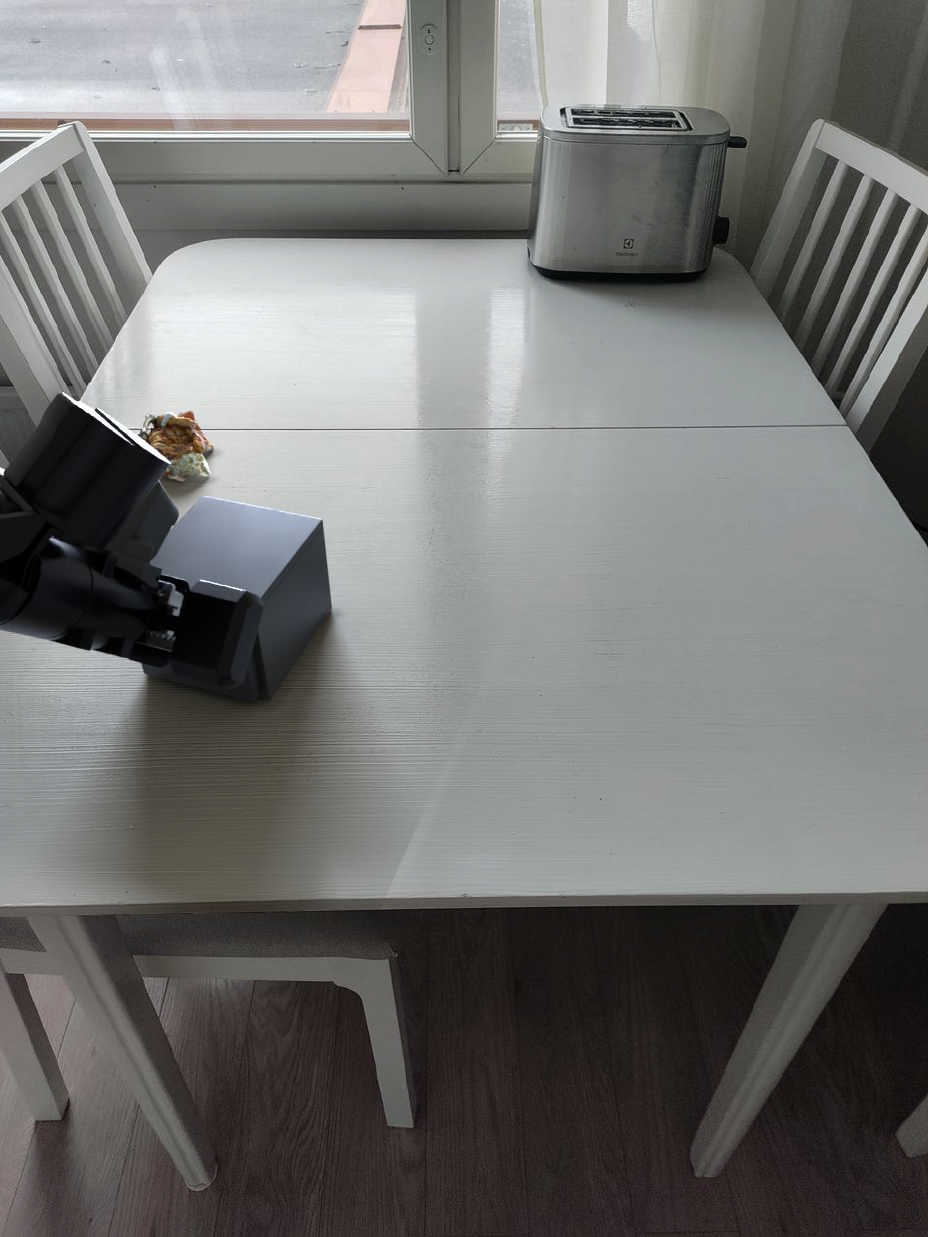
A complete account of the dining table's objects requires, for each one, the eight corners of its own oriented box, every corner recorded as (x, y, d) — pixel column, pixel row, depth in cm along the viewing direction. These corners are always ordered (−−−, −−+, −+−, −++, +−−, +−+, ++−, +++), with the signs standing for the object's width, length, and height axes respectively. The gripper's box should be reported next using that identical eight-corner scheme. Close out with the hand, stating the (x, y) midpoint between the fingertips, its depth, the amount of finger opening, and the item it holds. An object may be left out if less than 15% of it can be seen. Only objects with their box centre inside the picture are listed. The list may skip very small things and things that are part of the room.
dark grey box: (270, 700, 75) (253, 608, 69) (147, 670, 77) (121, 578, 71) (332, 608, 83) (323, 518, 77) (220, 584, 86) (203, 495, 80)
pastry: (167, 489, 98) (160, 458, 95) (131, 438, 105) (124, 409, 103) (232, 470, 100) (227, 440, 98) (193, 422, 108) (187, 393, 106)
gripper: (230, 486, 54) (328, 549, 69) (-41, 429, 58) (106, 499, 73) (174, 679, 53) (286, 699, 68) (-98, 605, 57) (64, 640, 72)
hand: (183, 628), depth 70 cm, fingers closed, pressing on fryer drawer
